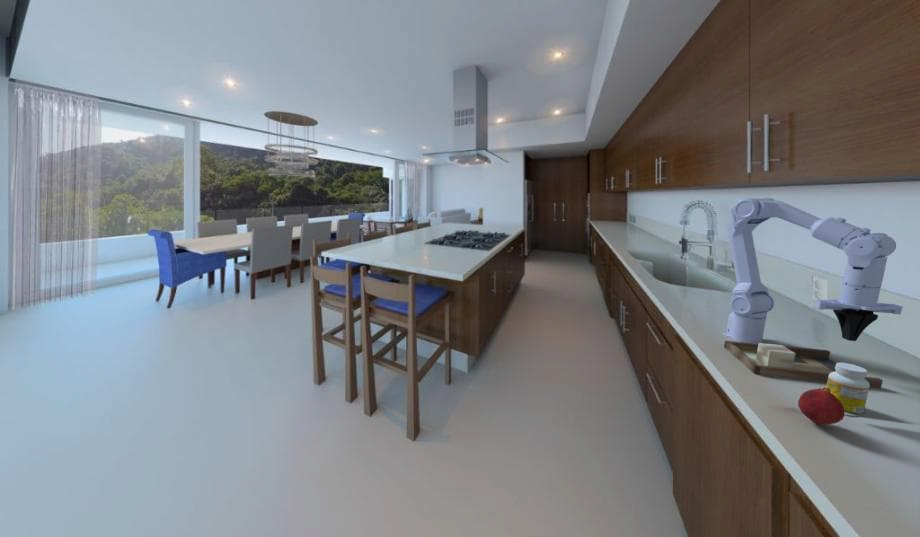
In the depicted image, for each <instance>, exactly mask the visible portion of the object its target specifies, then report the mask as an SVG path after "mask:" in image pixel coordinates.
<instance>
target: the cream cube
mask: <svg viewBox="0 0 920 537" xmlns="http://www.w3.org/2000/svg"><path fill="white" fill-rule="evenodd" d="M784 346H785V345H783V344H773V343H763V342H762V343H759V344H758V349H757V355H756V361H757V362H758V363H759V364H761V365H764V366H773V367H783V368H792V369H793V364H794V359H795V353H794V352H792V351H791V350H789V349H788V348H786V347H784Z"/></svg>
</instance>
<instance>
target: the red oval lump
mask: <svg viewBox="0 0 920 537" xmlns="http://www.w3.org/2000/svg"><path fill="white" fill-rule="evenodd" d="M830 391H831V389H830V388H829V387H826V386H821V387H819V388H813V389H809V390H807V391H804V392H803V393H802V394H801V395H800V397H799V399H798V402H797V406H798V408H799V409H800V412H801V413H802V414H803V415H804V416H805V417H806V418H807V419H808V420H810V421H811V422H812V423H813V424H815V425H818V426H824V425H832V424H837V423H839V422H841V421H842V420H844V417H845V416H844V414H845V412H844V407H843V405H842V403H841V402H840V401H839V399H838V398H837V397H835V396H834V395H833V394H832V393H830Z"/></svg>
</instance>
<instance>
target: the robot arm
mask: <svg viewBox="0 0 920 537" xmlns="http://www.w3.org/2000/svg"><path fill="white" fill-rule="evenodd" d="M730 214H731V216H730V219H729V223H728V226H727V234H728V241H729V246H730V253H731V257H732V263H733V264H732V265H733V268H734V274H735V275H734V276H735V279H736V280H735V281H736V286H734V288H733V289H732V291H731V296H732V297H731V300H730V305H729V306H730V308H731V309H732V312H731V313H730V314H729V316H728V317H727V318H728V320H727V324H726V325H727V327H726V332H722V335H723V336H725V337H731V339H733V340H735V341H736V342H745V343H755V344H759V343H763V339H764V332H765V326H766V323H767V322H766V321H767V315H768V313H769V312H771V311H772V310H773V309H774V307H775V301H774V298H773V297H772V296H771V294H770V293H769V289H768V287H767V286H766V285H764V284H763V283H762V281H761V276H760V269H759V265H758V258H757V253H756V249H755V243H754V238H753V232H754V231H755V229H756V228H757V227H758V226H759V225H761V224H762V223H764V222H766V221H768V220H769V219H771V218H778V219H780V220H783V221H786V222H788V223H791V224H794V225H797V226H799V227H801V228H804V229H807V230H809V231H810V233H811V236H812V237H813V238H814V239H816V240H819V241H821V242H823V243H825V244H828V245H830V246H832V247H835V248H837V249H840V250H841V251H843V252H844V254H845V255H846V256H847V259H846V260H847V261H846V265H845V268H844V272H843V273H844V274H843V278H842V283H841V289H840V293H839V297H838V299H814V303H813V308H815V309H817V310H823V311H824V310H832V312H833V313H834V315H835V317H836V319H837V320H838V323H839V327H840V331H841V337H842V339H844V340H846V341H850V342H857V340H858V339H859V338H860V335H862V333H863V332H864V331H865V330H866V328H867V327H868V326H870V325H871V324H872V323H874V322H875V321H877V320H878V319H879V315H878V314H876V313H883V314H893V315H901V314H902V310H903V306H901V305H898V304H895V303H885V302H878V301H879V297H880V293H881V289H882V284H883V280H884V275H885V271H886V265H887V262H888V257H889V256H890V255H891V254H893V253H894V252H895V250H897V249H896V248H897V242H896V241H895V240H894V238H892V237H891V236H889V235H887V234H886V233H884V232H874V233H871V229H870V228H868V227H863V228H862V227H859V226H856V225H854V224H851V223H848V222H846V221H847V219H846V218H844V217H836V218H835V217H827V218H823V219H822V218H820V217H818V216H815V215H813V214H811V213H809V212H807V211H806V210H805V211H804V210H802V209H800V208H797V207H796V206H793V205H790V204H789V203H787V202H784V201H782V200H778V199H774V198H772V197H763V198H761V197H759V198H758V197H754V198H752V197H745V198H742V199H740V200H738V201H737V202H736V203H735V204H734V205H733V206H732V207H731V208H730Z"/></svg>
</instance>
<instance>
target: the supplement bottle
mask: <svg viewBox="0 0 920 537" xmlns="http://www.w3.org/2000/svg"><path fill="white" fill-rule="evenodd" d="M836 363H837V364H836V366H835V370H836V372H831V373H830V374H829V376H828V380H827V382H826V384H825V385H826V386H825V387H829V388H830V389H831V391H830V393H832V394H833V395H834V396H835V397H837V398H838V399H839V401H840V402H841V403H842V405H843V407H844V417H849V418H861V416H860V415H863V414H864V412H865V408H866V403H867V398H868V394H869V392H870V388H871V387H870V384H869V382H868V381H867V380H865V379H864V378H865V377H868V376H867V374H868V370H867V369H866V368H864V367H861V366H858V365H856V364H852V363H848V362H836ZM845 413H848V414H845ZM850 414H853V415H850Z"/></svg>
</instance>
